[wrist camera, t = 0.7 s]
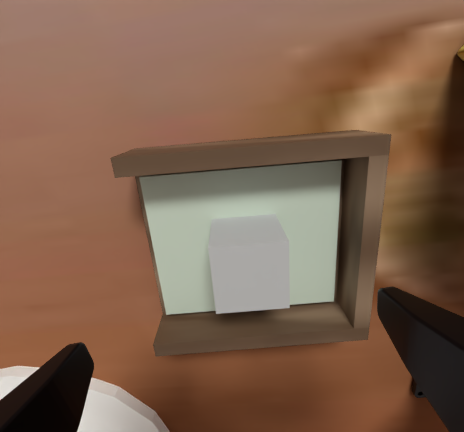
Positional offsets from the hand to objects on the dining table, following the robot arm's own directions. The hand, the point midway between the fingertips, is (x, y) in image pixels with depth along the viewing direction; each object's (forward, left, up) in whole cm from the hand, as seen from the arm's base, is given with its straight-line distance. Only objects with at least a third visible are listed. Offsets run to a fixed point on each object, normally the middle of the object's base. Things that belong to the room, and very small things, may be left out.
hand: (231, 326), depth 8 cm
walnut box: (-2, -1, -11) cm, 12 cm away
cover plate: (-2, -1, -10) cm, 11 cm away
